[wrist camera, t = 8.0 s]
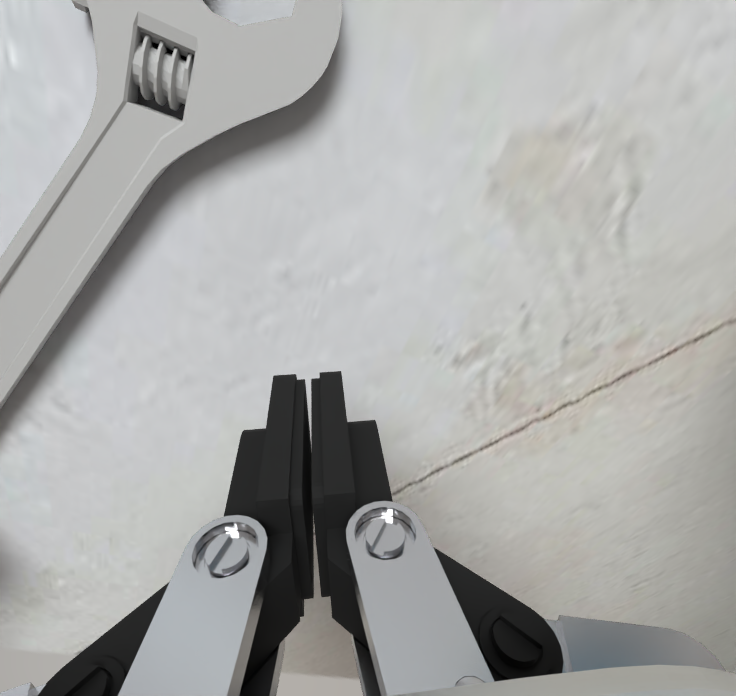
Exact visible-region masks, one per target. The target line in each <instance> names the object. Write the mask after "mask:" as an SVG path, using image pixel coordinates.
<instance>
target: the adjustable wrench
mask: <svg viewBox="0 0 736 696" xmlns="http://www.w3.org/2000/svg"><path fill="white" fill-rule="evenodd" d="M72 2H73V4H74V6H75V8H77V9H80V10H82V11H84V12H86V13H87V12H88V11H90V15H91V19H92V26H93V35H94V44H95V53H96V61H97V70H98V73H97V92H96V98H95V101H94V105H93V109H92V112H91V116H90V119H89V121H88V123H87V125H86V127H85V129H84V131H83V133H82V135H81V137H80V139H79V141H78V142H77V144H76V145H75V147H74V148H73V150H72V151H71V153H70V154H69V156H68V157H67V159H66V160H65V162H64V163H63V165H62V166H61V168H60V169H59V171H58V172H57V174H56V175H55V177H54V178H53V180H52V181H51V183H50V184H49V186H48V187H47V189H46V190H45V192H44V193H43V195H42V196H41V198H40V199H39V201H38V202H37V204H36V205H35V207H34V208H33V210H32V211H31V213H30V214H29V216H28V217H27V219H26V220H25V222H24V223H23V225H22V226H21V228H20V229H19V231H18V232H17V234H16V235H15V237H14V238H13V240H12V241H11V243H10V244H9V246H8V247H7V249H6V250H5V252H4V253H3V255H2V256H1V258H0V409H1V408H2V406H3V405H4V403H5V402H6V400H7V399H8V397H9V396H10V394H11V393H12V391H13V390H14V389H15V387H16V386H17V384H18V383H19V381H20V380H21V378H22V377H23V375H24V374H25V372H26V371H27V369H28V368H29V366H30V365H31V364H32V362H33V361H34V359H35V358H36V356H37V355H38V353H39V352H40V350H41V349H42V347H43V346H44V344H45V343H46V341H47V340H48V339H49V337H50V336H51V334H52V333H53V331H54V330H55V328H56V327H57V325H58V324H59V322H60V321H61V319H62V318H63V316H64V315H65V314H66V312H67V311H68V309H69V308H70V306H71V305H72V303H73V302H74V300H75V299H76V297H77V296H78V294H79V293H80V291H81V290H82V289H83V287H84V286H85V284H86V283H87V281H88V280H89V278H90V277H91V275H92V274H93V272H94V271H95V269H96V268H97V267H98V265H99V264H100V262H101V261H102V259H103V258H104V256H105V255H106V253H107V252H108V250H109V249H110V247H111V246H112V244H113V243H114V242H115V240H116V239H117V237H118V236H119V234H120V233H121V231H122V230H123V228H124V227H125V225H126V224H127V222H128V221H129V219H130V218H131V217H132V215H133V214H134V212H135V211H136V209H137V208H138V206H139V205H140V203H141V202H142V200H143V199H144V197H145V196H146V194H147V193H148V192H149V190H150V189H151V187H152V186H153V184H154V183H155V182H156V180H157V179H158V178H159V177H160V176H161V175H162V174H163V172H164V171H165V170H166V169H167V168H168V167H169V166H170V165H171V164H172V163H174V162H175V161H176V160H178V159H179V158H180V157H182V156H183V155H184V154H186V153H187V152H189V151H191V150H192V149H194V148H196V147H198V146H199V145H201V144H203V143H205V142H207V141H208V140H210V139H212V138H214V137H215V136H217V135H219V134H221V133H223V132H225V131H227V130H229V129H231V128H233V127H235V126H238V125H240V124H242V123H245V122H247V121H250V120H253V119H255V118H258V117H260V116H263V115H265V114H268V113H270V112H273V111H276V110H278V109H281V108H283V107H286V106H288V105H290V104H292V103H293V102H295V101H296V100H298V99H299V98H301V97H302V96H303V95H304V94H305V93H306V92H307V91H308V90H309V89H310V88H311V87H312V86H313V85H314V84H315V83H316V82H317V81H318V79H319V78H320V77H321V76H322V74H323V72H324V71H325V69H326V68H327V66H328V64H329V61H330V58H331V56H332V53H333V51H334V48H335V46H336V43H337V40H338V37H339V31H340V24H341V18H342V0H296V1H295V5H294V9H293V13H292V16H290V17H285V18H280V19H274V20H269V21H264V22H258V23H253V24H247V25H242V26H240V25H238V24H236V23H234V22H232V21H230V20H228V19H226V18H224V17H222V16H220V15H218V14H216V13H213V12H212V11H211V10H210V9H209V8H208V6H207V5H206V4H205V3H204V2H203V0H72ZM154 43H156V44H159V46H158V49H157V48H154ZM167 48H168V49H170V50H172V51H173V54H172V55H171V54H169V53H167ZM181 55H183V56H186V57H187V60H186V61H184V60H182V59H180V57H181ZM139 86H140V90H141V94H142V96H143V97H144V99H146V100H152V99H153V98H154V96H155V100H156V102H157V103H158V104H159V105H161V106H163V105H165V104H166V103H167V102H169V106H170V108H171V109H173V110H175V111H177V110H178V109H179V108H180V107H181V104H182V103H183V104H185V110H184V116H183V120H182V119H179V118H177V117H174V116H171V115H169V114H166V113H163V112H161V111H158V110H155V109H153V108H150V107H147V106H145V105H142V104H139V103H137V100H138V93H139Z"/></svg>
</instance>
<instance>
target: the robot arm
mask: <svg viewBox="0 0 736 696" xmlns="http://www.w3.org/2000/svg"><path fill="white" fill-rule="evenodd" d="M311 391H312V452H311V441H310V430H309V419H308V408H307V397H306V386H305V379H303V380H297V377H296V374H292V375H277V376H274V377H273V383H272V390H271V397H270V404H269V411H268V418H267V425H266V429H254V430H244V431H243V432H242V435H241V438H240V443H239V448H238V452H237V457H236V462H235V467H234V471H233V476H232V481H231V485H230V490H229V495H228V499H227V504H226V509H225V513H224V517H222V518H219V519H216V520H213V521H212V522H210V523H208V524H207V525H205V526H203V527H202V528H201V529H200V530H199V531H198V532H197V533H195V534H194V535H193V536H192V538H191V539H190V541H189V543H188V544H187V546H186V547H185V549H184V552H183V554H182V556H181V558H180V560H179V563H178V565H177V567H176V569H175V571H174V574H173V576H172V578H171V580H170V582H169V583H167V584H166V585H165V586H164V587H162V588H161V589H160V590H159V591H157V592H156V593H155V594H154V595H152V596H151V597H150V598H149V599H147V600H146V601H145V602H144V603H142V604H141V605H140V606H139V607H137V608H136V609H135V610H134V611H132V612H131V613H130V614H129V615H127V616H126V617H125V618H124V619H122V620H121V621H120V622H119V623H117V624H116V625H115V626H114V627H112V628H111V629H110V630H109V631H107V632H106V633H105V634H104V635H103V636H101V637H100V638H99V639H98V640H96V641H95V642H94V643H93V644H91V645H90V646H89V647H88V648H86V649H85V650H84V651H83V652H81V653H80V654H79V655H78V656H76V657H75V658H74V659H73V660H71V661H70V662H69V663H68V664H66V665H65V666H64V667H63V668H62V669H61V670H60V671H59V672H57V673H56V674H55V675H54V676H53V677H52V678H51V679H50V680H49V681H48V682H47V683H46V684H44V685H41V686H38V687H34V686H33V684H32V683H31V682H30V683H27V684H24V685H21V686H19V687H15V688H13V689H10V690H7V691H4V692H1V693H0V696H276V693H277V688H278V683H279V677H280V672H281V666H282V661H283V656H284V650H285V637H286V636H287V635H288V634H289V633H290V632H291V631H292V630H293V628H294V627H295V626H296V625H297V624H298V623H299V622H300V617H302V616H304V599H310V598H313V597H314V565H313V514H314V524H315V535H316V545H317V555H318V566H319V576H320V586H321V596H322V597H328V596H331V607H332V618H333V619H335V620H336V621H337V622H338V623H339V624H340V625H342V626H343V627H344V628H345V629H346V630H347V631H349V632H350V633H351V642H352V647H353V651H354V656H355V660H356V665H357V669H358V674H359V678H360V683H361V687H362V692H363V696H736V673H731V672H727V671H725V669H724V668H723V666H722V665H721V663H720V662H719V661H718V659H717V658H716V657H715V656H714V655H713V654H712V653H711V652H710V651H709V650H708V649H707V648H706V647H705V646H703V645H702V644H701V643H700V642H698V641H697V640H695V639H693V638H691V637H690V636H688V635H686V634H685V633H682V632H679V631H675V630H672V629H668V628H661V627H652V626H644V625H636V624H628V623H619V622H611V621H603V620H595V619H586V618H578V617H570V616H562V615H559V618H558V620H557V621H555V620H547V619H544V618H542V617H541V616H540V615H539V614H537V613H536V612H535V611H534V610H532V609H531V608H529V607H528V606H526V605H525V604H523V603H521V602H520V601H518V600H517V599H515V598H513V597H512V596H510V595H509V594H507V593H506V592H504V591H502V590H501V589H499V588H498V587H496V586H494V585H493V584H491V583H490V582H488V581H486V580H485V579H483V578H482V577H480V576H478V575H477V574H475V573H474V572H472V571H471V570H469V569H467V568H466V567H464V566H463V565H461V564H459V563H458V562H456V561H455V560H453V559H451V558H450V557H448V556H447V555H445V554H443V553H442V552H440V551H439V550H437V549H436V548H434V547H433V546H432V543H431V541H430V539H429V537H428V535H427V532H426V530H425V528H424V526H423V524H422V522H421V521H420V519H419V518H418V516H417V515H416V514H415V513H414V512H413V511H412V510H410V509H409V508H408V507H406V506H404V505H401V504H399V503H396V502H393V501H392V496H391V491H390V486H389V481H388V477H387V472H386V467H385V462H384V458H383V453H382V448H381V443H380V438H379V434H378V429H377V424H376V421H375V420H370V421H357V422H347V418H346V409H345V400H344V392H343V383H342V375H341V371H337V372H322V373H320V378H318V379H312V380H311Z"/></svg>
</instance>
